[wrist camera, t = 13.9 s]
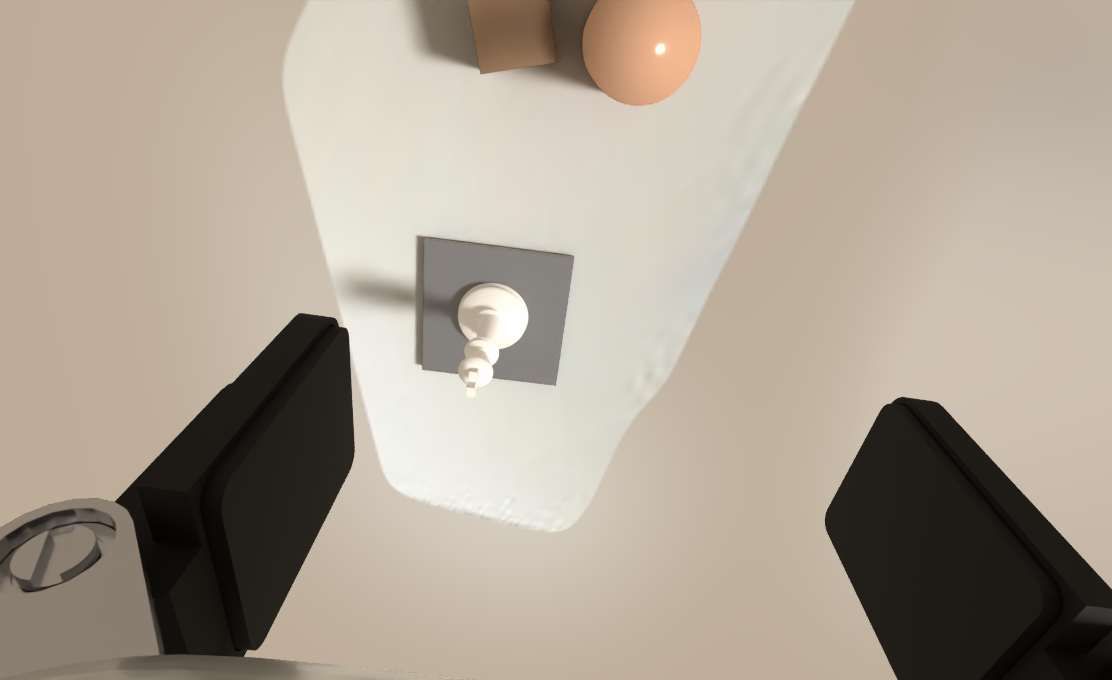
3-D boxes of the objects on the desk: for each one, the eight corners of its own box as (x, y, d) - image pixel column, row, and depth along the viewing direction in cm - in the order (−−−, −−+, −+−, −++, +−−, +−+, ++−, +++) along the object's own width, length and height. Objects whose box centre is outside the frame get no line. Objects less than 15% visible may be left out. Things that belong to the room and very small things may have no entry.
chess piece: (456, 341, 41) (423, 421, 32) (460, 277, 39) (426, 345, 30) (524, 350, 41) (510, 433, 32) (532, 287, 39) (519, 358, 30)
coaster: (426, 237, 38) (424, 239, 37) (573, 255, 38) (573, 258, 38) (424, 365, 42) (422, 369, 42) (556, 381, 43) (555, 385, 42)
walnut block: (476, -7, 32) (464, -14, 28) (547, -19, 31) (544, -28, 28) (490, 71, 33) (480, 74, 30) (557, 61, 33) (555, 62, 29)
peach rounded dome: (592, -23, 31) (596, -38, 26) (691, -4, 31) (716, -14, 26) (573, 87, 34) (574, 94, 28) (665, 104, 34) (683, 114, 28)
